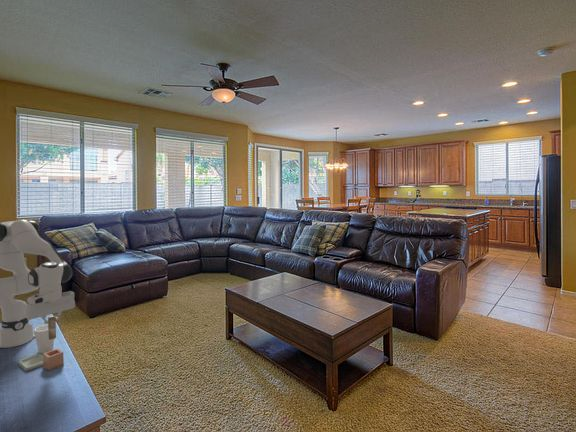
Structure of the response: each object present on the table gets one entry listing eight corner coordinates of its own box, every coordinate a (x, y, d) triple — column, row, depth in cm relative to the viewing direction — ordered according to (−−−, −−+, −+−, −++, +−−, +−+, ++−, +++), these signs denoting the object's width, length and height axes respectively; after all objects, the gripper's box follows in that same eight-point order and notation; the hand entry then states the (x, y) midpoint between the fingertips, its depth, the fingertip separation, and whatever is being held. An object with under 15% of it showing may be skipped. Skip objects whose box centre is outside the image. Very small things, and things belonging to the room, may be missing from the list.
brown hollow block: (43, 367, 157) (43, 353, 156) (58, 361, 162) (57, 348, 162) (48, 371, 153) (48, 357, 153) (63, 365, 159) (63, 352, 158)
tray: (18, 363, 159) (17, 360, 159) (39, 356, 167) (39, 353, 167) (26, 371, 153) (26, 368, 153) (48, 363, 160) (48, 360, 160)
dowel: (47, 338, 156) (46, 317, 155) (54, 336, 159) (54, 315, 158) (50, 340, 155) (49, 318, 154) (57, 337, 157) (56, 316, 156)
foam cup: (44, 355, 168) (43, 332, 167) (30, 353, 170) (29, 330, 169) (60, 347, 177) (59, 324, 176) (47, 345, 179) (46, 323, 178)
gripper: (71, 288, 165) (72, 314, 167) (23, 299, 148) (24, 327, 150) (77, 291, 162) (77, 317, 163) (27, 302, 145) (29, 330, 146)
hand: (51, 322), depth 156 cm, fingers closed on dowel, 3 cm apart
